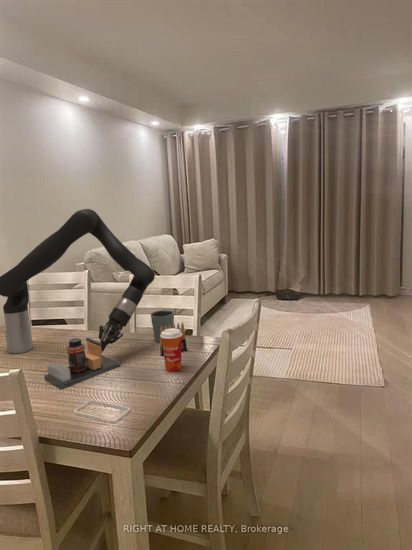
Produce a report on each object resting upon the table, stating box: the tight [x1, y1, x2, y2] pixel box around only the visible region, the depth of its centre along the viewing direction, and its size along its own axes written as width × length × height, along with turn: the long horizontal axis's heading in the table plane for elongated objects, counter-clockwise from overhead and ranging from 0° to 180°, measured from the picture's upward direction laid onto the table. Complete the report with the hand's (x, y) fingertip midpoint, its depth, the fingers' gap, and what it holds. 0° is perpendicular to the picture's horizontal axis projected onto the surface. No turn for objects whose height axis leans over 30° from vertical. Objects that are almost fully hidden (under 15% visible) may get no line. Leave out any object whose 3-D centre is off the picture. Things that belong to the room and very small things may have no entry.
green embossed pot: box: [150, 309, 175, 344], centre depth 173 cm, size 10×10×12 cm
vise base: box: [44, 354, 121, 390], centre depth 143 cm, size 23×12×6 cm, turn 137°
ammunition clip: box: [159, 321, 188, 358], centre depth 157 cm, size 11×2×12 cm, turn 116°
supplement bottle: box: [66, 337, 87, 373], centre depth 141 cm, size 6×6×11 cm
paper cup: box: [160, 327, 182, 373], centre depth 142 cm, size 8×8×14 cm
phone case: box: [73, 399, 131, 424], centre depth 115 cm, size 7×1×15 cm
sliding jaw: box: [85, 337, 103, 370], centre depth 145 cm, size 5×10×9 cm, turn 47°
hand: (98, 351), depth 147 cm, fingers closed
